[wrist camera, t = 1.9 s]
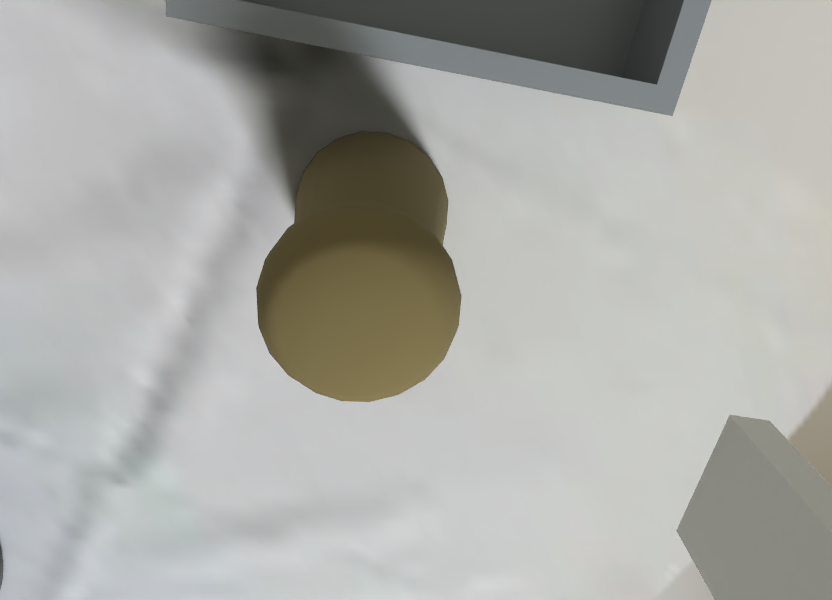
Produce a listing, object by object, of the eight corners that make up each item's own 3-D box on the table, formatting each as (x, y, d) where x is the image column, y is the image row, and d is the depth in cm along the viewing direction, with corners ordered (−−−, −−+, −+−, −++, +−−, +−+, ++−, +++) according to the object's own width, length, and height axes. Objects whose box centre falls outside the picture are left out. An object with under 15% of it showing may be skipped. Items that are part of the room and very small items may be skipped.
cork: (454, 271, 25) (492, 427, 15) (310, 287, 25) (253, 452, 15) (441, 122, 23) (477, 190, 13) (282, 140, 23) (194, 221, 13)
